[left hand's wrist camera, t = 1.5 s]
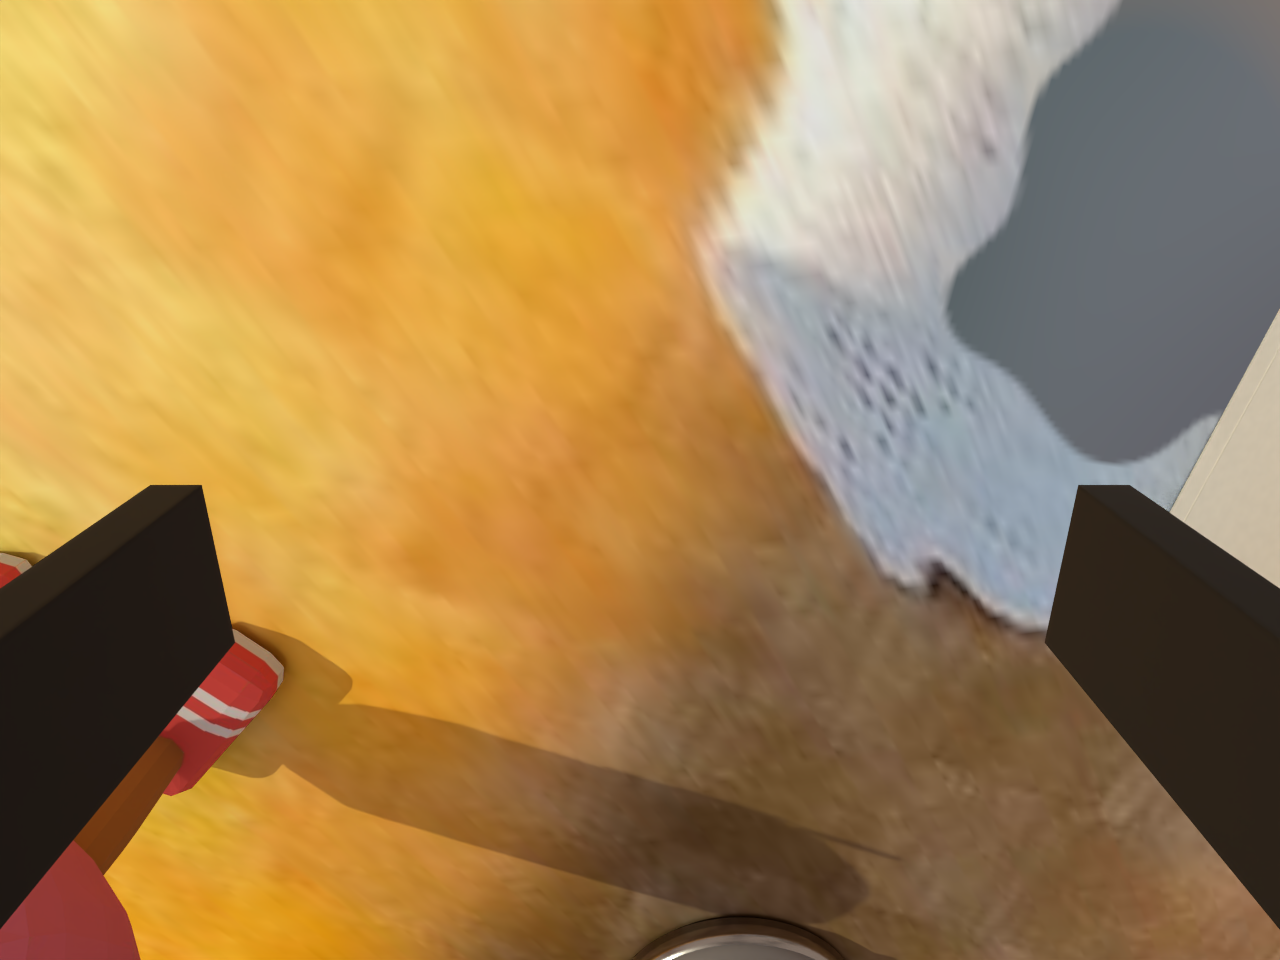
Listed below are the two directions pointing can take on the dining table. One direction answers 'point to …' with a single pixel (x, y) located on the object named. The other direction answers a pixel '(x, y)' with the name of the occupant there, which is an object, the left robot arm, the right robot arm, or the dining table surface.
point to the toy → (134, 811)
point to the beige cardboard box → (1243, 469)
